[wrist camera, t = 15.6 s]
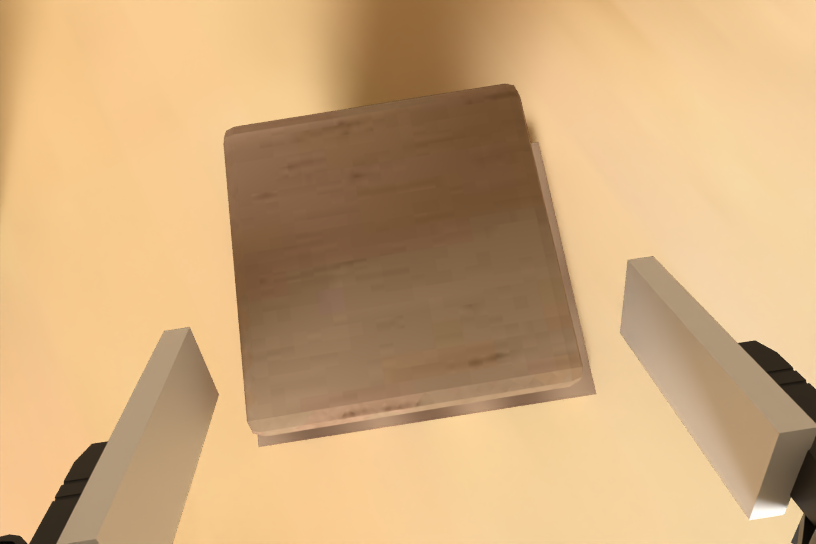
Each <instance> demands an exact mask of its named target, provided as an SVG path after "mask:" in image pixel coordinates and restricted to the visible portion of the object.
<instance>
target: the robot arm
mask: <svg viewBox="0 0 816 544" xmlns="http://www.w3.org/2000/svg"><path fill="white" fill-rule="evenodd" d="M620 333H621V335H622V336H623V338H624V339H625V341H626V342H627V344H628V345H629V346H630V348H631V349H632V351H633V352H634V354H635V355H636V357H637V358H638V360H639V361H640V362H641V364H642V365H643V367H644V368H645V370H646V371H647V373H648V374H649V375H650V377H651V378H652V380H653V381H654V383H655V384H656V386H657V387H658V389H659V390H660V391H661V393H662V394H663V396H664V397H665V399H666V400H667V402H668V403H669V404H670V406H671V407H672V409H673V410H674V412H675V413H676V415H677V416H678V417H679V419H680V420H681V422H682V423H683V425H684V426H685V428H686V429H687V431H688V432H689V433H690V435H691V436H692V438H693V439H694V441H695V442H696V444H697V445H698V446H699V448H700V449H701V451H702V452H703V454H704V455H705V457H706V458H707V459H708V461H709V462H710V464H711V465H712V467H713V468H714V470H715V471H716V473H717V474H718V475H719V477H720V478H721V480H722V481H723V483H724V484H725V486H726V487H727V488H728V490H729V491H730V493H731V494H732V496H733V497H734V499H735V500H736V502H737V503H738V504H739V506H740V507H741V509H742V510H743V512H744V513H745V515H746V516H747V517H748V519H749V520H752V519H759V518H765V517H772V516H778V515H784V513H785V511H786V508H787V506H788V503H789V501H790V498H791V497H792V499H793V500H794V501H795V502H796V504H797V505H798V506H799V507H800V509H801V510H802V511H803V512H804V514H803V516H802V518H801V521H800V523H799V525H798V528H797V530H796V532H795V535H794V537H793V539H792V542H791V543H793V544H816V389H815V388H814V387H813V386H812V385H811V384H810V383H808V384H807V383H806V380H805V379H804V378H803V377H802V376H801V375H800V374H799V373H798V372H797V371H794V370H793V367H792V366H791V365H790V364H789V363H788V362H787V361H786V360H784V359H783V358H782V357H781V356H780V355H779V354H778V353H777V352H775V351H773V350H772V349H770V348H768V347H766V346H764V345H762V344H761V343H759V342H757V341H749V342H742V343H737V342H736V341H735V340H734V339H733V338H732V337H731V336H730V335H729V334H728V333H727V332H726V331H725V330H724V329H723V328H722V326H721V325H720V324H719V323H718V322H717V321H716V320H715V319H714V318H713V317H712V316H711V315H710V314H709V313H708V312H707V311H706V310H705V309H704V308H703V307H702V306H701V305H700V304H699V303H698V302H697V301H696V300H695V299H694V298H693V297H692V296H691V295H690V294H689V293H688V292H687V290H686V289H685V288H684V287H683V286H682V285H681V284H680V283H679V282H678V281H677V280H676V279H675V278H674V277H673V276H672V275H671V274H670V273H669V272H668V271H667V270H666V269H665V268H664V267H663V266H662V265H661V264H660V263H659V262H658V261H657V260H656V259H655V258H654V257H653V256H651V257H644V258H637V259H631V260H628V261H627V271H626V281H625V290H624V300H623V309H622V319H621V329H620ZM218 395H219V394H218V392H217V389H216V387H215V385H214V382H213V380H212V378H211V375H210V373H209V371H208V368H207V366H206V364H205V361H204V359H203V357H202V354H201V352H200V350H199V348H198V345H197V343H196V341H195V338H194V336H193V334H192V331H191V329H190V327H187V328H180V329H174V330H167V331H164V332H163V334H162V336H161V338H160V340H159V342H158V344H157V346H156V348H155V350H154V352H153V354H152V356H151V358H150V360H149V362H148V364H147V366H146V368H145V370H144V372H143V374H142V375H141V377H140V379H139V381H138V383H137V385H136V387H135V389H134V391H133V393H132V395H131V397H130V399H129V401H128V403H127V405H126V407H125V409H124V411H123V413H122V415H121V417H120V419H119V421H118V423H117V425H116V427H115V429H114V431H113V433H112V435H111V437H110V439H109V441H108V442H101V443H95V444H91V445H90V446H89V447H88V448H87V450H86V451H85V452H84V453H83V454H82V455H81V456H80V457H79V458H78V459H77V460H76V461H75V462H74V464H73V465H72V467H71V469H70V471H69V473H68V475H67V476H66V478H65V480H64V485H61V487H60V489H59V491H58V493H57V494H56V496H55V501H53V502H52V504H51V505H50V507H49V509H48V511H47V513H46V514H45V516H44V518H43V520H42V522H41V524H40V525H39V527H38V529H37V531H36V533H35V534H34V536H33V538H32V540H31V542H30V543H29V544H173V541H174V537H175V534H176V531H177V528H178V525H179V521H180V518H181V515H182V512H183V508H184V505H185V502H186V499H187V495H188V492H189V489H190V486H191V483H192V479H193V476H194V473H195V470H196V466H197V463H198V460H199V457H200V454H201V450H202V447H203V444H204V441H205V437H206V434H207V431H208V428H209V424H210V421H211V418H212V415H213V412H214V408H215V405H216V402H217V399H218ZM0 544H27V543H26V542H25V541H24V539H23V538H22V537H21V536H17V535H10V534H9V535H5V536H1V537H0Z"/></svg>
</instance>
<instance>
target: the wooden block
mask: <svg viewBox="0 0 816 544" xmlns="http://www.w3.org/2000/svg"><path fill="white" fill-rule="evenodd" d="M224 154H225V166H226V178H227V189H228V201H229V213H230V225H231V237H232V249H233V261H234V272H235V284H236V296H237V308H238V320H239V332H240V343H241V355H242V367H243V379H244V391H245V403H246V414H247V422H248V424H249V426H250V428H251V430H252V432H253V433H254V434H258V435H262V436H272V435H278V434H284V433H290V432H296V431H302V430H308V429H315V428H321V427H327V426H333V425H339V424H345V423H351V422H357V421H363V420H369V419H375V418H382V417H388V416H394V415H400V414H406V413H412V412H418V411H424V410H430V409H436V408H443V407H449V406H455V405H461V404H467V403H473V402H479V401H485V400H491V399H497V398H504V397H510V396H516V395H522V394H528V393H534V392H540V391H546V390H552V389H558V388H565V387H570V386H572V385H573V384H575V383H577V382H578V381H580V380H581V377H582V371H583V364H582V359H581V355H580V351H579V347H578V342H577V338H576V334H575V329H574V325H573V321H572V317H571V312H570V308H569V304H568V300H567V295H566V291H565V287H564V282H563V278H562V274H561V270H560V265H559V261H558V257H557V252H556V248H555V244H554V240H553V235H552V231H551V227H550V223H549V218H548V214H547V210H546V205H545V201H544V197H543V193H542V188H541V184H540V180H539V176H538V171H537V167H536V163H535V158H534V154H533V150H532V146H531V141H530V137H529V133H528V128H527V124H526V120H525V116H524V111H523V107H522V103H521V99H520V96H519V93H518V91H517V90H516V88H515V87H514V85H509V84H500V85H494V86H488V87H482V88H475V89H469V90H463V91H456V92H450V93H444V94H438V95H431V96H425V97H419V98H412V99H406V100H400V101H394V102H387V103H381V104H375V105H368V106H362V107H356V108H350V109H343V110H337V111H331V112H324V113H318V114H312V115H306V116H299V117H293V118H287V119H280V120H274V121H268V122H262V123H255V124H249V125H243V126H237V127H233V128H231V129H229V130H227V131H226V133H225V137H224Z"/></svg>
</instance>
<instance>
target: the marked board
mask: <svg viewBox="0 0 816 544" xmlns="http://www.w3.org/2000/svg"><path fill="white" fill-rule="evenodd" d="M531 146H532V150H533V154H534V158H535V163H536V167H537V171H538V176H539V180H540V184H541V188H542V193H543V197H544V201H545V205H546V210H547V214H548V218H549V223H550V227H551V231H552V235H553V240H554V244H555V248H556V252H557V257H558V261H559V265H560V270H561V274H562V278H563V282H564V287H565V291H566V295H567V300H568V304H569V308H570V312H571V317H572V321H573V325H574V329H575V334H576V338H577V342H578V347H579V351H580V355H581V359H582V364H583V371H582V377H581V380H580V381H578V382H577V383H575V384H573V385H572V386H570V387H565V388H558V389H552V390H546V391H540V392H534V393H528V394H522V395H516V396H510V397H504V398H497V399H491V400H485V401H479V402H473V403H467V404H461V405H455V406H449V407H443V408H436V409H430V410H424V411H418V412H412V413H406V414H400V415H394V416H388V417H382V418H375V419H369V420H363V421H357V422H351V423H345V424H339V425H333V426H327V427H321V428H315V429H308V430H302V431H296V432H290V433H284V434H278V435H272V436H262V435H258V445H259V447H262V446H268V445H274V444H281V443H287V442H294V441H300V440H306V439H313V438H319V437H325V436H332V435H338V434H345V433H351V432H357V431H364V430H370V429H376V428H383V427H389V426H396V425H402V424H408V423H415V422H421V421H427V420H434V419H440V418H447V417H453V416H459V415H466V414H472V413H478V412H485V411H491V410H497V409H504V408H510V407H517V406H523V405H529V404H536V403H542V402H548V401H555V400H561V399H568V398H574V397H580V396H587V395H593V394H596V391H595V387H594V382H593V378H592V373H591V369H590V365H589V360H588V356H587V352H586V347H585V343H584V339H583V334H582V330H581V326H580V321H579V317H578V313H577V308H576V304H575V300H574V295H573V291H572V287H571V282H570V278H569V274H568V269H567V265H566V260H565V256H564V252H563V247H562V243H561V239H560V234H559V230H558V226H557V221H556V217H555V213H554V208H553V204H552V200H551V195H550V191H549V187H548V182H547V178H546V174H545V169H544V165H543V160H542V156H541V152H540V147H539V143H538V142H535V143H531Z"/></svg>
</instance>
